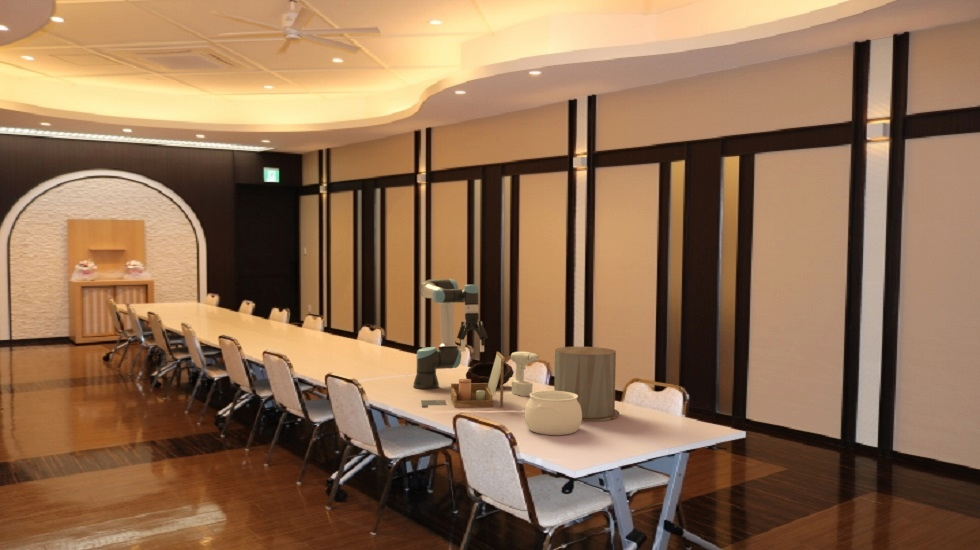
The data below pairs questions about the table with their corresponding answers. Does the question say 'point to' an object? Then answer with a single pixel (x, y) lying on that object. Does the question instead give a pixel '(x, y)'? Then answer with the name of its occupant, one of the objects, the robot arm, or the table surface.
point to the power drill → (522, 372)
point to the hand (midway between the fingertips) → (472, 351)
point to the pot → (553, 412)
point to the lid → (495, 373)
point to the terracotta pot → (464, 390)
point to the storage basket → (588, 380)
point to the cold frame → (474, 388)
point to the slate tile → (432, 402)
